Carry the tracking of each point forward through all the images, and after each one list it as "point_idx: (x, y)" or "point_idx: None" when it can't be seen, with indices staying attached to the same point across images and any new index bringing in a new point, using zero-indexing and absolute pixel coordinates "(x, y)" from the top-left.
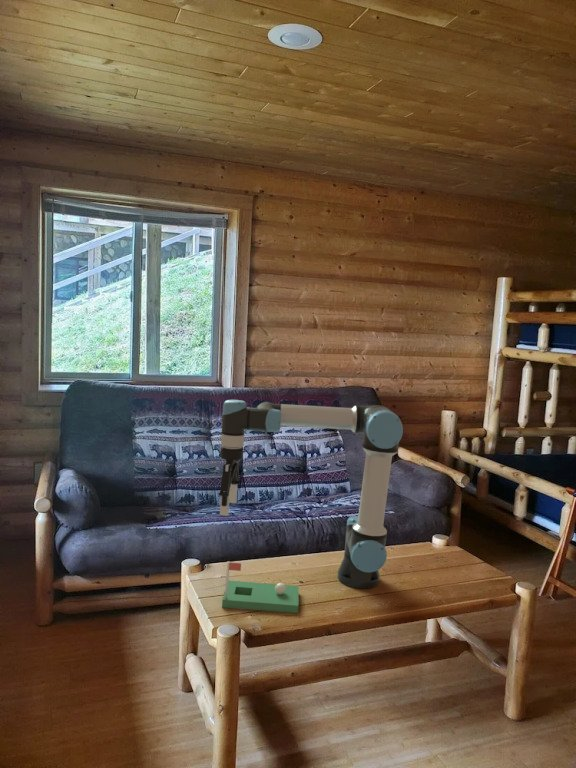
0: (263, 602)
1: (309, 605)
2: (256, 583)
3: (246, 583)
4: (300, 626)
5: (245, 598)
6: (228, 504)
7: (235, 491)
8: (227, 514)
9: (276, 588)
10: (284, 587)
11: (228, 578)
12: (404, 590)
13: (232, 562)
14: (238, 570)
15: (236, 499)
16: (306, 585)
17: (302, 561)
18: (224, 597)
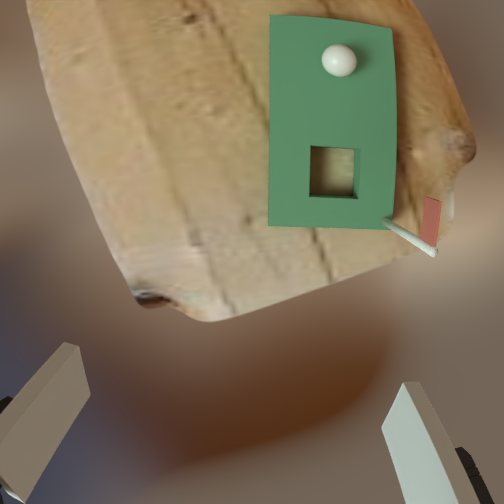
0: (394, 115)
1: (333, 3)
2: (275, 133)
3: (281, 165)
4: (435, 43)
5: (379, 165)
6: (452, 447)
7: (29, 421)
8: (420, 390)
9: (351, 72)
10: (348, 48)
11: (409, 231)
12: None
13: (435, 235)
14: (426, 204)
15: (54, 359)
16: (212, 5)
17: (67, 42)
18: (379, 225)
